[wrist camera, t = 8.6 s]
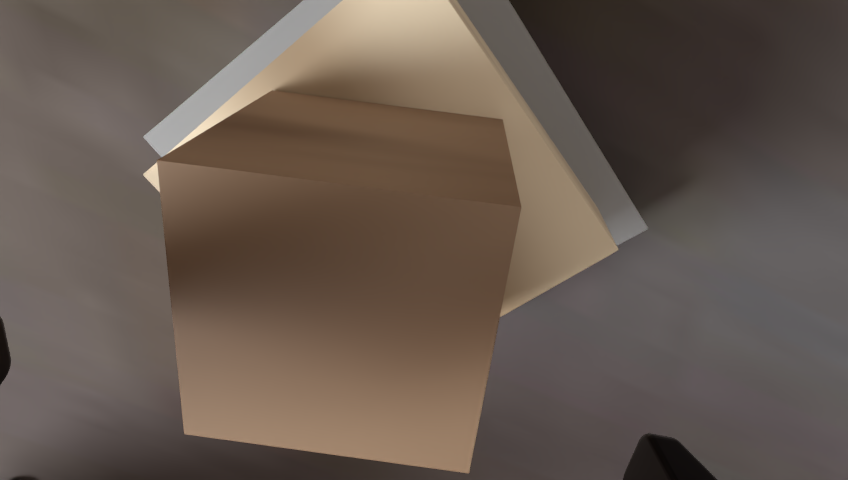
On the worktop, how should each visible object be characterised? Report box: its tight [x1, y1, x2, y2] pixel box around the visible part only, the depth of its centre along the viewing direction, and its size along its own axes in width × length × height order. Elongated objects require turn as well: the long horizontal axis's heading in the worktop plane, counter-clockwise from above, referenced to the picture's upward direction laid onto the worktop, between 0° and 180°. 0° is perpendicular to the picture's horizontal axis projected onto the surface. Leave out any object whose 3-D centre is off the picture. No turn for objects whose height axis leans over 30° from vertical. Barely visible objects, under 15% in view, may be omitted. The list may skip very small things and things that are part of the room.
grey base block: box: [144, 0, 648, 245], centre depth 17 cm, size 10×10×2 cm
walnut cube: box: [157, 90, 521, 473], centre depth 11 cm, size 5×5×5 cm
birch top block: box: [143, 0, 619, 317], centre depth 14 cm, size 8×8×2 cm
